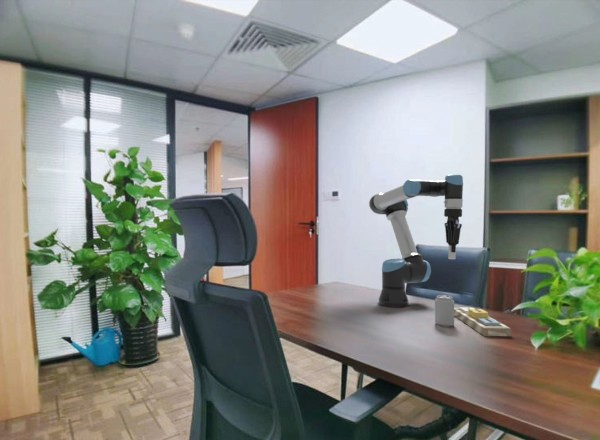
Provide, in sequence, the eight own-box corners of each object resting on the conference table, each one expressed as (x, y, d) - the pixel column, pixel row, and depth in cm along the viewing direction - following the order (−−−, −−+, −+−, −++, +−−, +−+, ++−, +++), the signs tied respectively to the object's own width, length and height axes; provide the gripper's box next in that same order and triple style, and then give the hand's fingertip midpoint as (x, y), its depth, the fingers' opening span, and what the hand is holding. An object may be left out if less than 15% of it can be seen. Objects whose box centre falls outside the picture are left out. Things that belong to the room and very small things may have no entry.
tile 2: (468, 315, 146) (468, 308, 146) (481, 316, 146) (481, 308, 146) (474, 319, 141) (474, 312, 141) (488, 319, 140) (488, 312, 140)
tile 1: (459, 313, 155) (459, 307, 155) (472, 314, 155) (472, 307, 155) (465, 317, 149) (465, 310, 149) (478, 317, 149) (478, 310, 149)
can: (434, 325, 141) (434, 297, 141) (435, 320, 147) (436, 293, 147) (453, 328, 137) (453, 299, 137) (454, 323, 144) (454, 295, 144)
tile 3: (478, 325, 137) (478, 317, 137) (492, 325, 137) (492, 318, 137) (485, 330, 132) (485, 322, 132) (499, 330, 132) (499, 322, 132)
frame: (451, 313, 158) (451, 307, 158) (473, 314, 158) (473, 307, 158) (484, 335, 128) (484, 328, 128) (510, 336, 128) (510, 328, 128)
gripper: (439, 208, 162) (438, 256, 163) (451, 208, 149) (449, 261, 150) (455, 208, 162) (453, 257, 163) (468, 208, 149) (466, 261, 150)
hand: (451, 259), depth 156 cm, fingers closed
